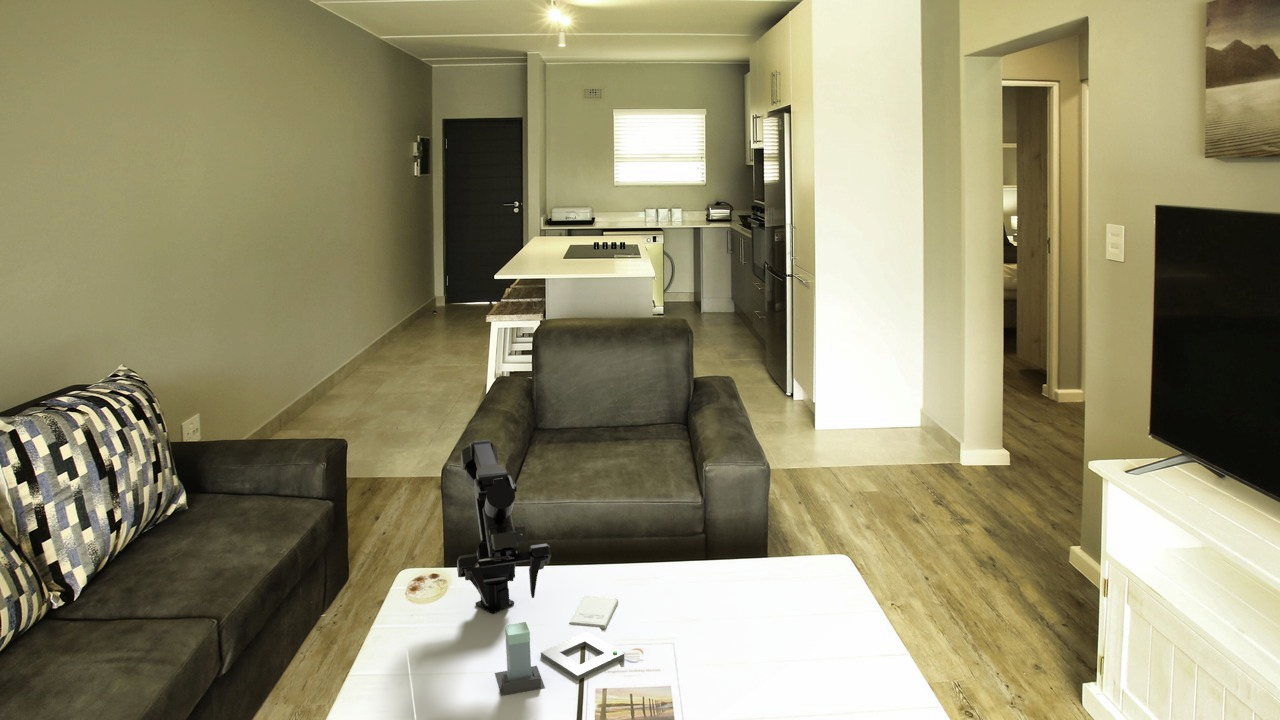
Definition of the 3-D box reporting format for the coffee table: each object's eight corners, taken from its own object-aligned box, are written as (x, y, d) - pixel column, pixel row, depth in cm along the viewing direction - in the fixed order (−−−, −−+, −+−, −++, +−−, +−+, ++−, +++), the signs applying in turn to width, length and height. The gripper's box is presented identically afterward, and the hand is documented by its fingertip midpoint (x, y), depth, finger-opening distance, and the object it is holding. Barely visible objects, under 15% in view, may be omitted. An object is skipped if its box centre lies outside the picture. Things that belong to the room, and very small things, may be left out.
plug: (507, 676, 182) (504, 625, 180) (528, 673, 184) (525, 621, 181) (510, 687, 179) (508, 635, 176) (532, 684, 180) (529, 631, 177)
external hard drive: (618, 604, 213) (605, 631, 201) (583, 601, 215) (569, 628, 203) (618, 598, 213) (605, 624, 201) (583, 595, 214) (568, 621, 203)
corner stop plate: (494, 675, 184) (494, 663, 183) (536, 667, 186) (536, 656, 186) (501, 698, 176) (500, 686, 176) (545, 690, 178) (544, 678, 178)
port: (541, 658, 190) (540, 650, 189) (587, 638, 197) (586, 630, 197) (577, 682, 181) (577, 674, 180) (624, 659, 189) (624, 651, 188)
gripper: (454, 519, 184) (464, 595, 177) (547, 506, 189) (561, 580, 182) (453, 539, 194) (462, 613, 186) (542, 527, 199) (554, 598, 191)
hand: (510, 601), depth 186 cm, fingers open, 9 cm apart
